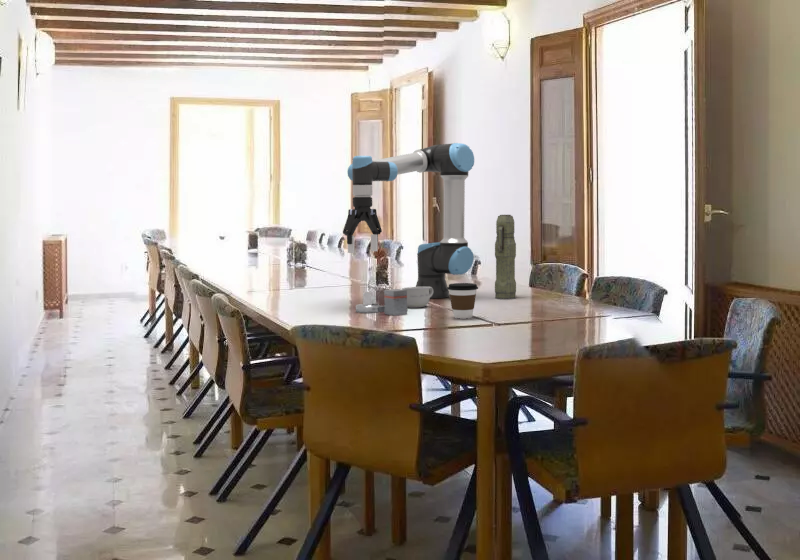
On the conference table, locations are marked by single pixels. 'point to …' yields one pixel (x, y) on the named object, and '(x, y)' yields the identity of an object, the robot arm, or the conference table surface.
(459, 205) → the robot arm
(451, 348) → the conference table surface
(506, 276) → the thermos
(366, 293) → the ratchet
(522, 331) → the conference table surface
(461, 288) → the coffee cup
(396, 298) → the red-striped grey block
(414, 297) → the teacup
